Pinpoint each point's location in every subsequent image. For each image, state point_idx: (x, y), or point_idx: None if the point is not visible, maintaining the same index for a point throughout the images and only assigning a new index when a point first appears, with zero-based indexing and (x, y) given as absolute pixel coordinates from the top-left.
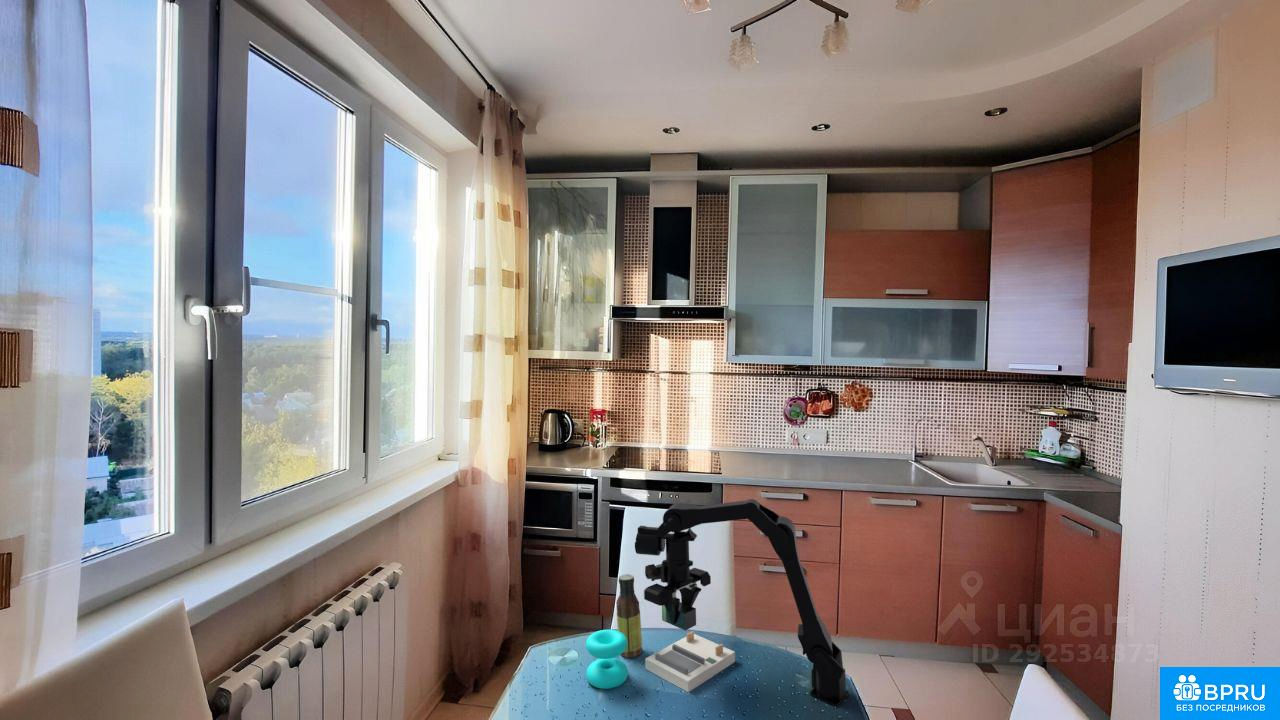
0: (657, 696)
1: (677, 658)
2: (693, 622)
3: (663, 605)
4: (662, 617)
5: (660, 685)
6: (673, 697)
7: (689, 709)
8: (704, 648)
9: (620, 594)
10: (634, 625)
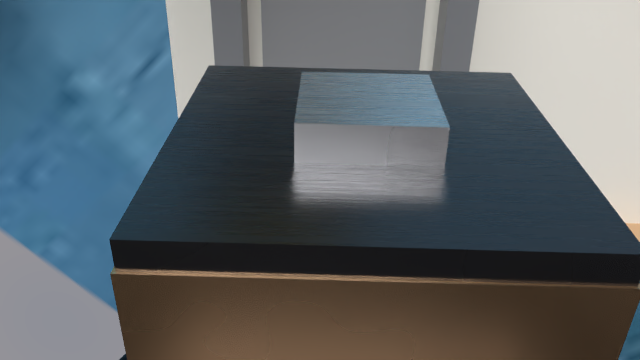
0: (35, 133)
1: (356, 51)
2: None
3: (119, 285)
4: (196, 92)
5: (122, 70)
6: (109, 202)
7: (112, 308)
8: (634, 109)
9: None
10: None
